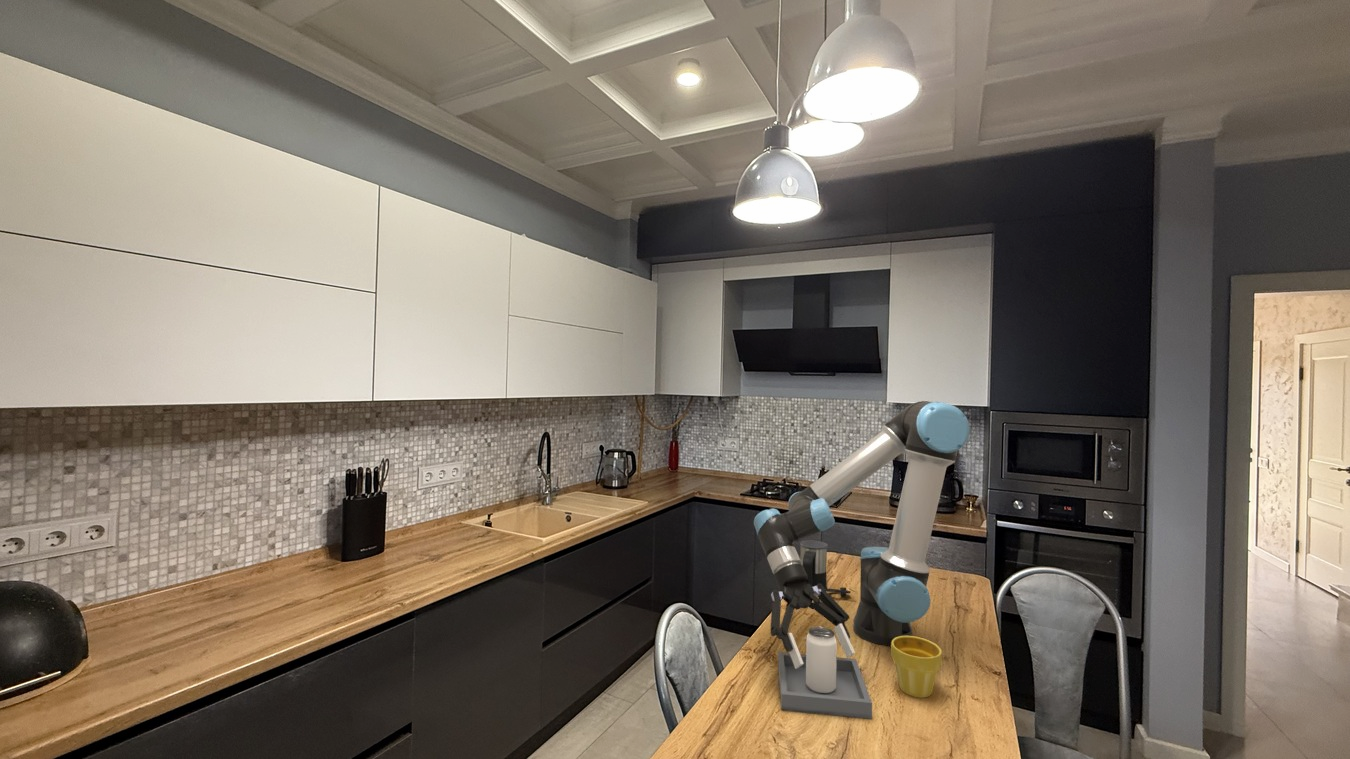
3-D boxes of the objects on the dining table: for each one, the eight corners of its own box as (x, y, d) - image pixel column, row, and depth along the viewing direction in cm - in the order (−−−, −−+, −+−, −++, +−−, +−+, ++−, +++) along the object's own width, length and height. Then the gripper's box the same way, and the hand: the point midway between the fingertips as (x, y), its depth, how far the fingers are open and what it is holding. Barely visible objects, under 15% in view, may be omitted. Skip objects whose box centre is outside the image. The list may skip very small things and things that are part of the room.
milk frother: (798, 582, 187) (798, 539, 188) (845, 585, 185) (846, 541, 185) (800, 598, 173) (801, 551, 173) (852, 602, 171) (852, 554, 171)
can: (837, 696, 117) (838, 640, 117) (806, 692, 118) (807, 637, 118) (834, 680, 123) (835, 627, 123) (805, 677, 125) (805, 624, 125)
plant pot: (938, 709, 114) (939, 662, 114) (886, 693, 120) (887, 648, 120) (943, 686, 123) (944, 642, 123) (895, 672, 129) (895, 631, 129)
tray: (855, 672, 128) (855, 658, 128) (871, 719, 110) (872, 702, 110) (778, 665, 131) (778, 652, 131) (781, 710, 113) (781, 694, 113)
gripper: (823, 571, 140) (862, 657, 126) (737, 583, 131) (769, 677, 117) (836, 556, 135) (879, 644, 121) (748, 568, 126) (784, 664, 112)
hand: (825, 660), depth 119 cm, fingers open, 13 cm apart
